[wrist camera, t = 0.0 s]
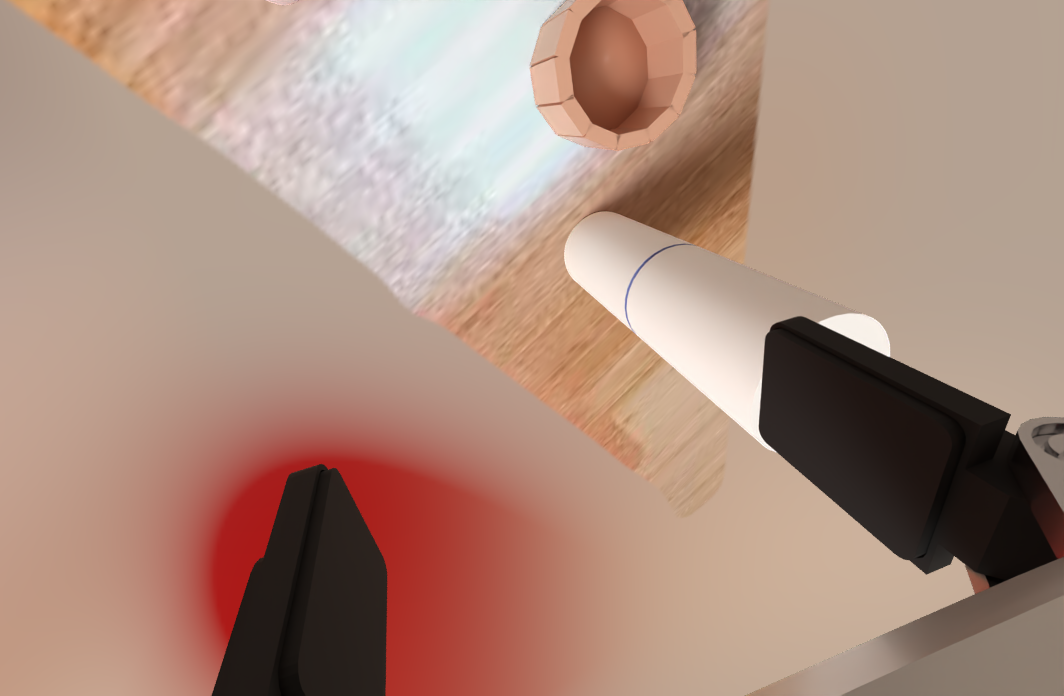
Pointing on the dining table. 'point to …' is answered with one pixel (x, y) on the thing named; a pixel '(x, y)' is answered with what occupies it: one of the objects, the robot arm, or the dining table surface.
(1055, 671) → the robot arm
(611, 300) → the cylindrical container
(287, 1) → the smoothie
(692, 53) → the bowl
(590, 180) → the dining table surface
